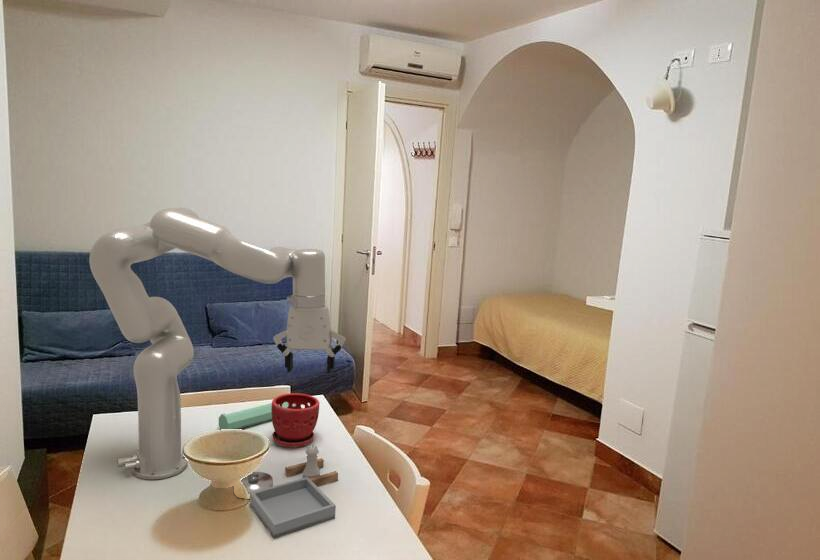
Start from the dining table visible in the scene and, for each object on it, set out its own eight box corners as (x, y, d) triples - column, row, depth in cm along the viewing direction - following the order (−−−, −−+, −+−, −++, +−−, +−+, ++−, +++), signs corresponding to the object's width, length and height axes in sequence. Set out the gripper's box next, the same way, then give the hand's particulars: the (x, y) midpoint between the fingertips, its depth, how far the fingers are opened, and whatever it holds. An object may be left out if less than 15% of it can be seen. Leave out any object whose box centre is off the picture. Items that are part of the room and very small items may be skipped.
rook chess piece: (316, 483, 134) (317, 453, 133) (299, 481, 135) (300, 450, 134) (323, 475, 138) (324, 445, 137) (306, 472, 139) (307, 442, 138)
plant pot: (296, 455, 147) (298, 413, 146) (260, 442, 154) (261, 401, 152) (327, 438, 159) (328, 398, 157) (292, 426, 165) (293, 388, 163)
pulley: (241, 503, 124) (241, 490, 123) (228, 485, 131) (228, 472, 130) (278, 492, 129) (279, 480, 128) (264, 475, 136) (264, 463, 136)
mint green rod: (293, 392, 177) (220, 409, 159) (303, 403, 173) (230, 423, 155) (289, 406, 179) (216, 425, 161) (298, 418, 176) (225, 438, 158)
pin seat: (300, 491, 130) (300, 483, 130) (285, 475, 137) (285, 467, 137) (337, 480, 136) (338, 473, 136) (321, 465, 143) (321, 458, 143)
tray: (274, 538, 112) (274, 525, 112) (249, 505, 123) (250, 492, 123) (335, 518, 120) (335, 505, 120) (307, 488, 132) (307, 476, 131)
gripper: (268, 303, 127) (270, 375, 130) (343, 305, 127) (343, 376, 129) (277, 297, 134) (278, 365, 137) (347, 299, 134) (347, 367, 137)
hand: (309, 370), depth 133 cm, fingers open, 9 cm apart
